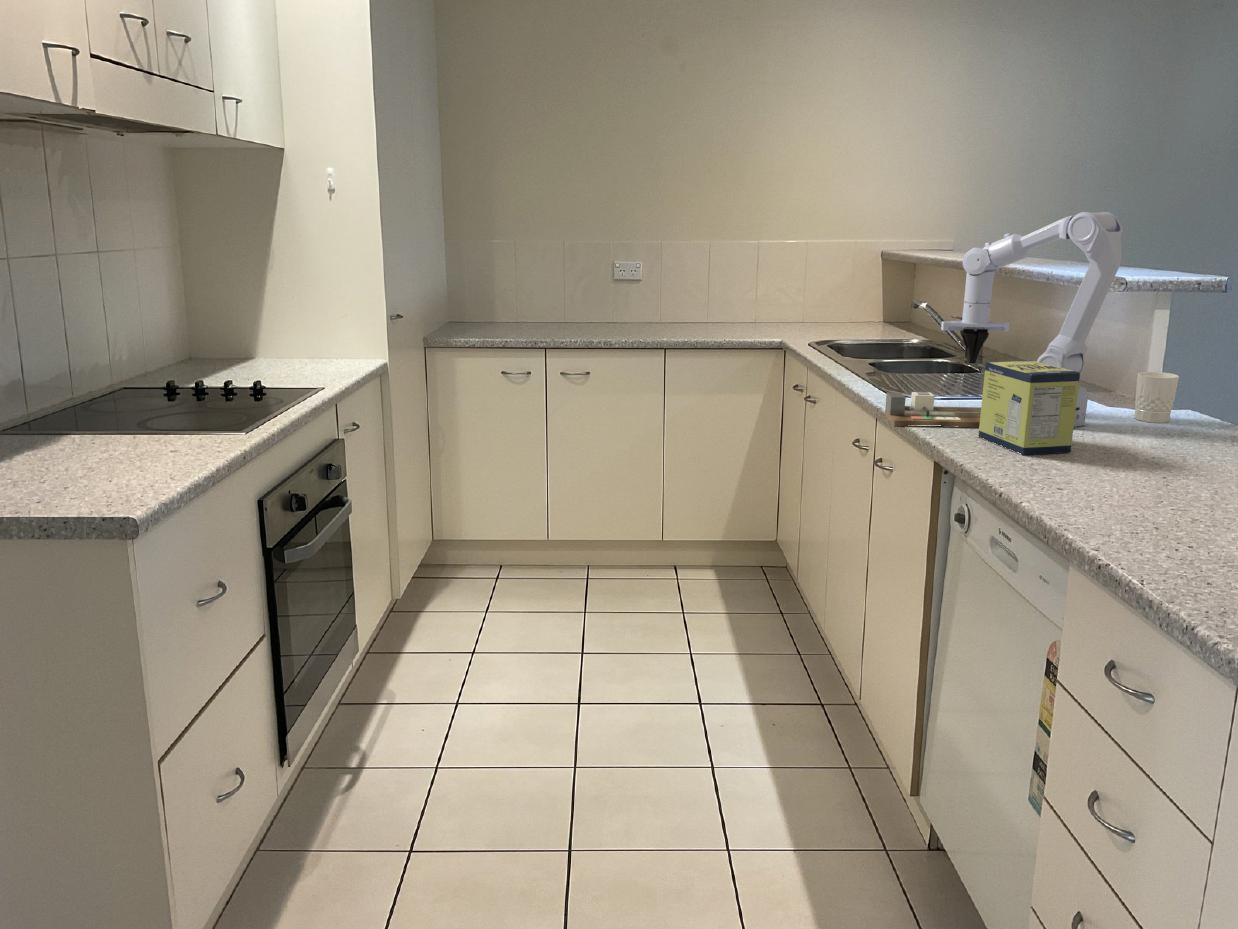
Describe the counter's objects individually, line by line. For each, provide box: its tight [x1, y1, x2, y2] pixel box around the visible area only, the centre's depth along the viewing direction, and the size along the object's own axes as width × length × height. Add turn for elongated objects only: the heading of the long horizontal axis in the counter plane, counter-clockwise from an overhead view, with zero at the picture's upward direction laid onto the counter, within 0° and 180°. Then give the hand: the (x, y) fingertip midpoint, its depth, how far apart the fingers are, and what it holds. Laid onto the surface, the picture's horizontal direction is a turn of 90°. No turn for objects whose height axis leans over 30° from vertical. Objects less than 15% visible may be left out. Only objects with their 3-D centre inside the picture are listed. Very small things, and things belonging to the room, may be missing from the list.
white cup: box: [1133, 371, 1180, 424], centre depth 211 cm, size 8×8×10 cm
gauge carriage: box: [910, 391, 936, 417], centre depth 210 cm, size 4×8×4 cm, turn 175°
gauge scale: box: [910, 416, 961, 421], centre depth 207 cm, size 10×3×1 cm, turn 85°
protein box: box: [978, 360, 1081, 456], centre depth 188 cm, size 10×16×16 cm
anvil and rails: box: [884, 391, 981, 417], centre depth 211 cm, size 21×6×4 cm, turn 85°
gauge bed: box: [884, 409, 980, 429], centre depth 210 cm, size 22×11×1 cm, turn 85°
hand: (971, 362), depth 222 cm, fingers closed
